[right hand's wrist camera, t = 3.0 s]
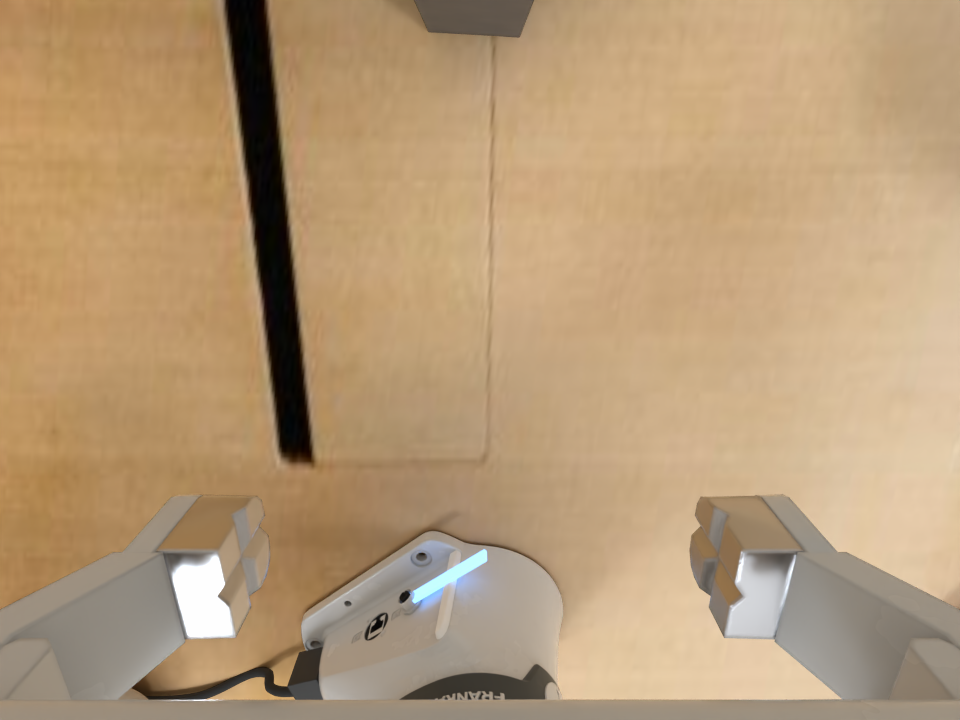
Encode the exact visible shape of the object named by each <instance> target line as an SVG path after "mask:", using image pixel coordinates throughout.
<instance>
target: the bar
mask: <svg viewBox="0 0 960 720" xmlns="http://www.w3.org/2000/svg"><path fill="white" fill-rule="evenodd" d="M414 1H415V3H416V6H417V8H418V10H419V12H420V14H421V17H422V19H423V21H424V23H425V25H426V28H427V30H428V32H436V33H454V34H471V35H488V36H506V37H520V35H521V32H522V30H523V27H524V24H525V22H526V19H527V16H528V14H529V11H530V8H531V6H532V3H533V1H534V0H414Z"/></svg>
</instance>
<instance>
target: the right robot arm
mask: <svg viewBox="0 0 960 720" xmlns="http://www.w3.org/2000/svg"><path fill="white" fill-rule="evenodd" d="M264 516H265V513H264V508H263V503H262V500H261V499H260V498H259V497H258V496H232V495H204V496H203V495H177V496H173V497H171V498H170V499H169V500H168V501H167V502H166V503H165V505H164V506H163V507H162V508H161V509H160V510H159V511H158V512H157V514H156V515H155V516H154V517H153V518H152V519H151V520H150V522H149V523H148V524H147V525H146V526H145V527H144V528H143V529H142V531H141V532H140V533H139V534H138V535H137V536H136V537H135V538H134V540H133V541H132V542H131V543H130V544H129V545H128V546H127V547H126V549H125V550H124V551H123V552H113V553H111V554H109V555H107V556H105V557H103V558H101V559H99V560H97V561H95V562H93V563H91V564H89V565H87V566H85V567H83V568H81V569H79V570H77V571H75V572H73V573H71V574H69V575H67V576H65V577H64V578H62V579H60V580H58V581H56V582H54V583H52V584H50V585H48V586H46V587H44V588H42V589H40V590H38V591H36V592H34V593H32V594H30V595H28V596H26V597H24V598H22V599H20V600H18V601H16V602H14V603H12V604H10V605H8V606H6V607H4V608H2V609H0V720H960V610H959V609H957V608H956V607H954V606H952V605H950V604H948V603H946V602H944V601H942V600H940V599H938V598H936V597H934V596H932V595H930V594H928V593H926V592H924V591H922V590H920V589H918V588H916V587H914V586H912V585H910V584H908V583H906V582H904V581H902V580H900V579H898V578H896V577H894V576H892V575H890V574H888V573H886V572H885V571H883V570H881V569H879V568H877V567H875V566H873V565H871V564H869V563H867V562H865V561H863V560H861V559H859V558H857V557H855V556H853V555H851V554H849V553H847V552H837V551H836V550H835V549H834V548H833V546H832V545H831V544H830V543H829V542H828V541H827V540H826V538H825V537H824V536H823V535H822V534H821V533H820V532H819V531H818V529H817V528H816V527H815V526H814V525H813V524H812V523H811V522H810V520H809V519H808V518H807V517H806V516H805V515H804V514H803V513H802V511H801V510H800V509H799V508H798V507H797V506H796V505H795V503H794V502H793V501H792V500H791V499H790V498H789V497H787V496H785V495H783V494H781V495H755V496H716V497H700V499H699V501H698V503H697V507H696V512H695V516H696V518H697V520H698V522H699V523H700V525H701V526H700V527H699V528H698V529H697V530H696V531H695V532H694V533H693V534H692V536H691V544H690V561H691V568H692V571H693V575H694V578H695V580H696V582H697V584H698V586H699V588H700V589H702V590H703V591H704V592H706V593H707V594H709V595H710V596H711V598H710V604H709V608H710V610H711V612H712V614H713V616H714V618H715V620H716V622H717V624H718V626H719V628H720V630H721V632H722V634H723V636H724V638H747V639H775V642H776V643H777V644H778V645H779V646H780V647H782V648H783V649H784V650H785V651H786V652H787V653H789V654H790V655H791V656H792V657H793V658H795V659H796V660H797V661H798V662H799V663H800V664H802V665H803V666H804V667H805V668H806V669H808V670H809V671H810V672H811V673H812V674H813V675H815V676H816V677H817V678H818V679H819V680H820V681H822V682H823V683H824V684H825V685H826V686H828V687H829V688H830V689H831V690H832V691H833V692H835V693H836V694H837V695H838V696H839V697H841V698H842V699H834V700H563V698H562V695H561V693H560V690H559V688H558V645H559V635H560V629H561V624H562V619H563V602H562V597H561V594H560V592H559V589H558V587H557V585H556V584H555V582H554V580H553V579H552V578H551V576H550V575H549V574H548V573H547V572H546V571H545V570H544V569H543V568H542V567H541V566H539V565H538V564H537V563H535V562H534V561H532V560H531V559H529V558H527V557H525V556H523V555H521V554H519V553H516V552H514V551H511V550H507V549H504V548H499V547H493V546H484V545H474V544H468V543H464V542H462V541H460V540H458V539H456V538H454V537H452V536H449V535H447V534H444V533H441V532H437V531H429V532H426V533H424V534H422V535H420V536H419V537H417V538H416V539H414V540H413V541H411V542H410V543H408V544H407V545H405V546H404V547H402V548H401V549H399V550H398V551H396V552H395V553H393V554H392V555H390V556H389V557H387V558H386V559H384V560H383V561H381V562H380V563H378V564H377V565H375V566H374V567H372V568H371V569H369V570H368V571H366V572H365V573H363V574H362V575H360V576H359V577H357V578H356V579H354V580H353V581H351V582H350V583H348V584H347V585H345V586H344V587H342V588H341V589H339V590H338V591H336V592H335V593H333V594H332V595H330V596H329V597H327V598H326V599H324V600H323V601H321V602H320V603H318V604H317V605H315V606H314V607H312V608H311V609H309V610H308V611H307V612H306V613H305V614H304V615H303V619H302V623H301V634H302V640H303V644H304V646H305V649H306V651H303V652H299V655H298V658H297V660H296V663H295V666H294V669H293V672H292V675H291V677H290V680H289V683H288V687H284V686H278V685H275V684H274V674H273V671H272V670H271V669H269V668H265V667H260V668H255V669H252V670H250V671H247V672H245V673H242V674H240V675H238V676H235V677H233V678H230V679H228V680H227V681H225V682H223V683H221V684H219V685H217V686H214V687H212V688H210V689H207V690H204V691H201V692H197V693H191V694H184V695H175V696H145V697H146V698H148V699H149V700H117V699H118V698H120V697H121V696H122V695H123V694H124V693H125V692H127V691H128V690H129V689H130V688H131V687H133V686H134V685H135V684H136V683H137V682H139V681H140V680H141V679H142V678H143V677H144V676H146V675H147V674H148V673H149V672H150V671H152V670H153V669H154V668H155V667H156V666H157V665H159V664H160V663H161V662H162V661H163V660H165V659H166V658H167V657H168V656H169V655H170V654H172V653H173V652H174V651H175V650H176V649H178V648H179V647H180V646H181V645H182V644H183V643H185V639H212V638H236V636H237V634H238V632H239V630H240V628H241V626H242V624H243V622H244V620H245V618H246V616H247V614H248V612H249V610H250V608H251V604H250V598H249V596H250V595H251V594H253V593H254V592H256V591H257V590H258V589H260V588H261V586H262V584H263V582H264V580H265V577H266V575H267V571H268V566H269V562H270V542H269V536H268V534H267V533H266V532H265V531H264V530H263V529H262V528H261V527H260V526H259V525H260V523H261V522H262V520H263V518H264ZM418 553H425V555H420V554H418ZM254 677H265V689H266V691H267V692H269V693H270V694H272V695H274V696H278V697H294V698H295V700H204V699H207V698H210V697H213V696H215V695H217V694H220V693H222V692H224V691H226V690H228V689H230V688H231V687H233V686H235V685H237V684H239V683H241V682H243V681H245V680H248V679H250V678H254Z"/></svg>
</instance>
